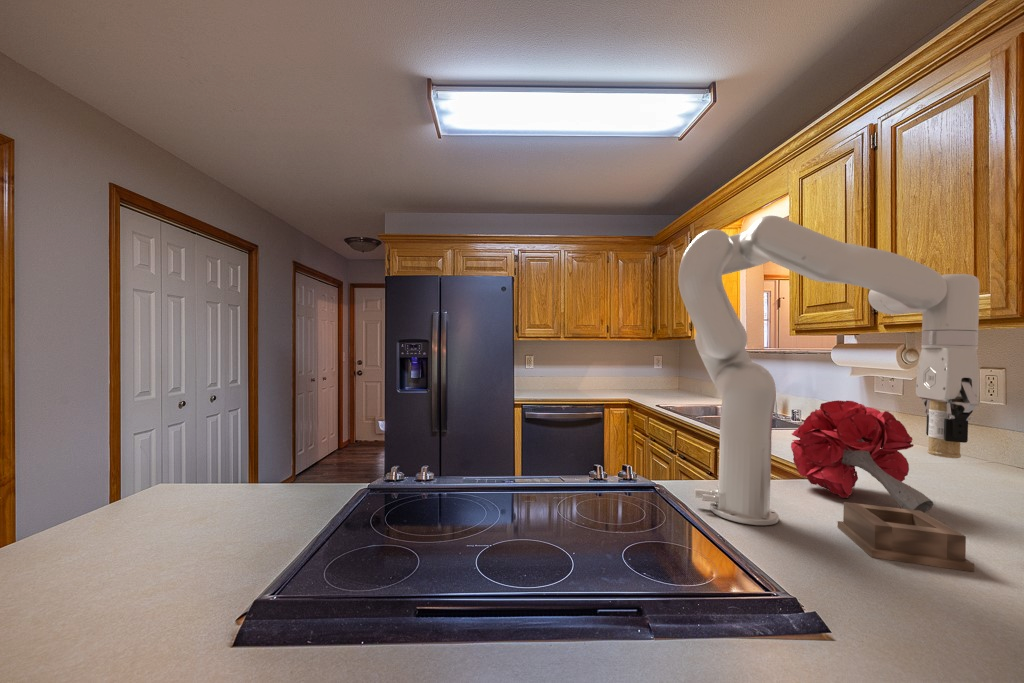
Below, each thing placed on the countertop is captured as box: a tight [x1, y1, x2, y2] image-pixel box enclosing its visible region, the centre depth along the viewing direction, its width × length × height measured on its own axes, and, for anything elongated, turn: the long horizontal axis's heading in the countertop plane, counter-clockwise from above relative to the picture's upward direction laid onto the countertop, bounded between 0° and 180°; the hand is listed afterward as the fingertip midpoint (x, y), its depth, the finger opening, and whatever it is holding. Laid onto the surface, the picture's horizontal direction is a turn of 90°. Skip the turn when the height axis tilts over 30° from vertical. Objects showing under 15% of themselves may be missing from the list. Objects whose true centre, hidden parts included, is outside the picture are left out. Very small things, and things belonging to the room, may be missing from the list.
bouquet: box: [790, 400, 934, 514], centre depth 106 cm, size 22×24×30 cm
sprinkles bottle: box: [927, 399, 962, 459], centre depth 83 cm, size 5×5×13 cm
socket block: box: [837, 501, 975, 573], centre depth 79 cm, size 14×14×5 cm
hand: (946, 438), depth 83 cm, fingers closed on sprinkles bottle, 4 cm apart
